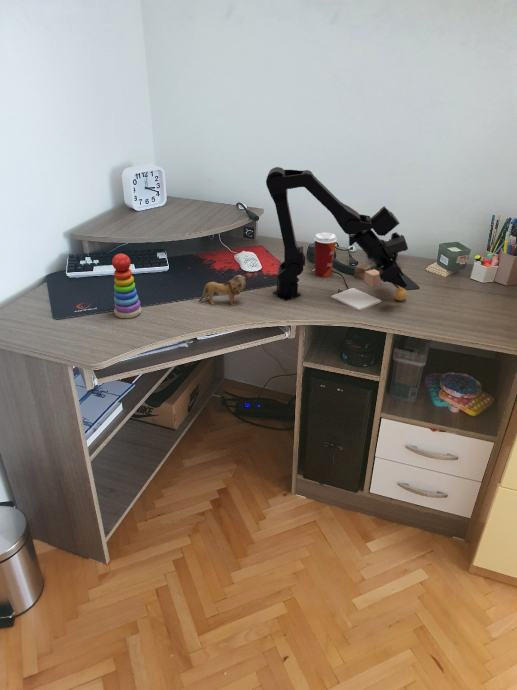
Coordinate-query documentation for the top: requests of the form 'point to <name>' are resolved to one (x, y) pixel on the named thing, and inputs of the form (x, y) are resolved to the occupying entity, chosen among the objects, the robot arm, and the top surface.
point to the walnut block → (361, 271)
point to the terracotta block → (372, 277)
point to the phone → (408, 284)
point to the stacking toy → (125, 288)
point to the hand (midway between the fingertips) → (404, 281)
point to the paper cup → (324, 253)
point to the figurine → (400, 293)
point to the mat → (356, 299)
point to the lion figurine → (225, 289)
